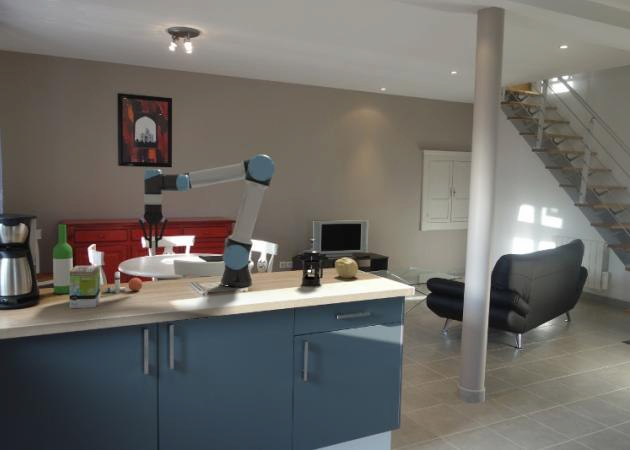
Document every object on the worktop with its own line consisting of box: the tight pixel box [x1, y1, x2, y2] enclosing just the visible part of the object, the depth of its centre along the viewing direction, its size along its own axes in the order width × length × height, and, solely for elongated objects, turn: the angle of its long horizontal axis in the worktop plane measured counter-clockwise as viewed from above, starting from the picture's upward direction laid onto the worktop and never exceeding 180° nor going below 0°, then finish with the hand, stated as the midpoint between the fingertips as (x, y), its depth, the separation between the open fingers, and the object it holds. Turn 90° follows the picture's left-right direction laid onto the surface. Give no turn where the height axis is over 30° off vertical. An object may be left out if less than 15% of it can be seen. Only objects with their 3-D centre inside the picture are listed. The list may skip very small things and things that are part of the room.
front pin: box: [104, 286, 126, 293], centre depth 232 cm, size 2×2×8 cm
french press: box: [301, 238, 324, 287], centre depth 259 cm, size 12×9×23 cm
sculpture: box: [334, 256, 359, 279], centre depth 281 cm, size 11×12×11 cm
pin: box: [114, 273, 121, 295], centre depth 229 cm, size 2×2×8 cm
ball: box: [128, 277, 143, 292], centre depth 234 cm, size 6×6×6 cm
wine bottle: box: [52, 224, 74, 295], centre depth 227 cm, size 8×8×30 cm
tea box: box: [68, 265, 101, 309], centre depth 209 cm, size 15×10×15 cm, turn 17°
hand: (153, 255), depth 235 cm, fingers closed
